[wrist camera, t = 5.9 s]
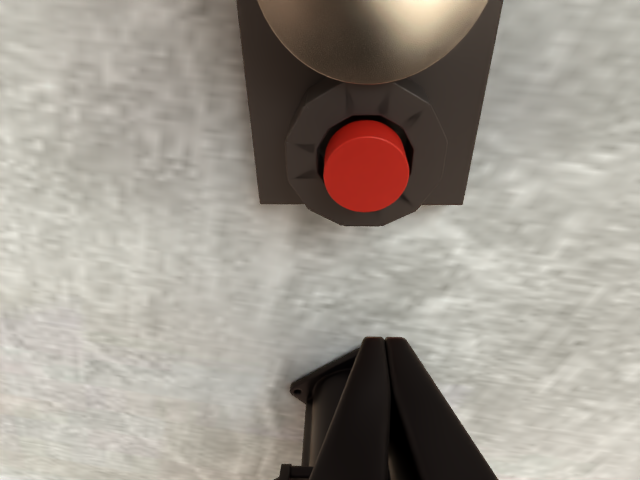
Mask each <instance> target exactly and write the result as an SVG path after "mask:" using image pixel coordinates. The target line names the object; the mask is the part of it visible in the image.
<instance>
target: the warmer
mask: <svg viewBox="0 0 640 480" xmlns="http://www.w3.org/2000/svg"><path fill="white" fill-rule="evenodd" d="M236 1H237V10H238V18H239V27H240V36H241V44H242V53H243V62H244V70H245V79H246V87H247V96H248V105H249V113H250V122H251V130H252V139H253V148H254V156H255V165H256V173H257V182H258V191H259V199H260V204H305V205H306V207H307V208H308V209H310V210H311V211H313V212H315V213H317V214H319V215H321V216H323V217H325V218H327V219H329V220H331V221H333V222H335V223H337V224H339V225H344V226H380V225H381V226H384V225H386V224H388V223H390V222H392V221H395V220H397V219H399V218H401V217H404V216H406V215H408V214H410V213H412V212H415V211H416V210H417V209H418V208H419V207H420V206H421V205H462V204H463V200H464V195H465V190H466V185H467V180H468V175H469V170H470V165H471V160H472V155H473V150H474V145H475V140H476V135H477V130H478V125H479V120H480V115H481V110H482V105H483V100H484V95H485V90H486V85H487V80H488V74H489V69H490V64H491V59H492V54H493V49H494V44H495V39H496V34H497V29H498V24H499V19H500V14H501V9H502V4H503V0H489V1H488V3H487V4H486V6H485V8H484V10H483V11H482V13H481V15H480V17H479V18H478V20H477V21H476V22H475V24H474V25H473V27H472V28H471V29H470V31H469V32H468V33H467V34H466V36H465V37H464V38H463V39H462V40H461V41H460V42H459V43H458V44H457V46H455V47H454V48H453V49H452V50H451V51H450V52H449V53H448V54H446V55H445V56H444V57H443V58H441V59H440V60H439V61H437V62H436V63H434V64H433V65H431V66H430V67H428V68H426V69H424V70H423V71H421V72H419V73H417V74H415V75H412V76H409V77H407V78H404V79H401V80H397V81H393V82H389V83H383V84H374V85H365V84H353V83H346V82H342V81H339V80H335V79H332V78H329V77H327V76H325V75H322V74H320V73H318V72H316V71H315V70H313V69H311V68H310V67H308V66H306V65H305V64H304V63H302V62H301V61H300V60H299V59H297V58H296V57H295V56H294V55H293V54H292V53H291V52H290V51H289V50H288V49H287V48H286V47H285V46H284V45H283V44H282V43H281V42H280V40H279V39H278V38H277V36H276V35H275V34H274V32H273V31H272V29H271V28H270V26H269V24H268V22H267V21H266V19H265V17H264V15H263V13H262V11H261V8H260V6H259V4H258V2H257V0H236ZM359 120H373V121H378V122H381V123H383V124H385V125H387V126H389V127H390V128H392V129H393V130H394V131H395V132H396V133H397V134H398V136H399V137H400V139H401V141H402V143H403V147H404V150H405V154H406V158H407V162H408V165H409V179H408V183H407V186H406V188H405V190H404V191H403V193H402V194H401V196H400V197H399V198H398V199H397V200H396V201H395V202H394V203H392V204H391V205H389V206H387V207H386V208H383V209H381V210H377V211H373V212H356V211H352V210H349V209H346V208H344V207H342V206H341V205H339V204H338V203H337V202H335V201H334V200H333V199H332V197H331V196H330V195H329V193H328V191H327V189H326V187H325V184H324V177H323V174H324V159H325V151H326V147H327V144H328V142H329V140H330V139H331V137H332V136H333V135H334V134H335V132H336V131H338V130H339V129H340V128H341V127H343V126H345V125H347V124H349V123H351V122H354V121H359Z"/></svg>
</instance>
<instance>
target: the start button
mask: <svg viewBox="0 0 640 480" xmlns="http://www.w3.org/2000/svg"><path fill="white" fill-rule="evenodd" d="M323 177H324V184H325V187H326V189H327V191H328V193H329V195H330V196H331V197H332V199H333V200H334V201H335V202H337V203H338V204H339V205H341V206H342V207H344V208H346V209H349V210H352V211H356V212H373V211H377V210H381V209H383V208H386V207H387V206H389V205H391V204H392V203H394V202H395V201H396V200H397V199H398V198H399V197H400V196H401V194H402V193H403V191H404V190H405V188H406V186H407V183H408V179H409V165H408V162H407V158H406V154H405V150H404V147H403V143H402V141H401V139H400V137H399V136H398V134H397V133H396V132H395V131H394V130H393V129H392V128H390V127H389V126H387V125H385V124H383V123H381V122H378V121H373V120H359V121H354V122H351V123H349V124H347V125H345V126H343V127H341V128H340V129H339V130H338V131H336V132H335V134H334V135H333V136H332V137H331V139H330V140H329V142H328V144H327V147H326V151H325V159H324V174H323Z"/></svg>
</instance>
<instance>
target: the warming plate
mask: <svg viewBox="0 0 640 480" xmlns="http://www.w3.org/2000/svg"><path fill="white" fill-rule="evenodd" d="M488 1H489V0H257V2H258V4H259V6H260V8H261V11H262V13H263V15H264V17H265V19H266V21H267V22H268V24H269V26H270V28H271V29H272V31H273V32H274V34H275V35H276V36H277V38H278V39H279V40H280V42H281V43H282V44H283V45H284V46H285V47H286V48H287V49H288V50H289V51H290V52H291V53H292V54H293V55H294V56H295V57H296V58H297V59H299V60H300V61H301V62H302V63H304V64H305V65H306V66H308V67H310V68H311V69H313V70H315V71H316V72H318V73H320V74H322V75H325V76H327V77H329V78H332V79H335V80H339V81H342V82H346V83H353V84H365V85H374V84H383V83H389V82H393V81H397V80H401V79H404V78H407V77H409V76H412V75H415V74H417V73H419V72H421V71H423V70H424V69H426V68H428V67H430V66H431V65H433V64H434V63H436V62H437V61H439V60H440V59H441V58H443V57H444V56H445V55H446V54H448V53H449V52H450V51H451V50H452V49H453V48H454V47H455V46H457V44H458V43H459V42H460V41H461V40H462V39H463V38H464V37H465V36H466V34H467V33H468V32H469V31H470V29H471V28H472V27H473V25H474V24H475V22H476V21H477V20H478V18H479V17H480V15H481V13H482V11H483V10H484V8H485V6H486V4H487V3H488Z"/></svg>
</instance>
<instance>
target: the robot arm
mask: <svg viewBox="0 0 640 480" xmlns="http://www.w3.org/2000/svg"><path fill="white" fill-rule="evenodd" d="M290 393H291V394H292V395H293V396H295V397H296V398H298V399H299V400H301V401H302V402H304V403H305V404H306V412H305V425H304V439H303V453H302V466H292V465H291V464H281V470H280V475H279V477H278V478H276V479H274V480H498V479H497V477H496V475H495V474H494V472H493V471H492V469H491V468H490V466H489V465H488V463H487V462H486V460H485V459H484V457H483V456H482V454H481V453H480V451H479V450H478V448H477V447H476V445H475V444H474V442H473V441H472V439H471V437H470V436H469V434H468V433H467V431H466V430H465V428H464V427H463V425H462V424H461V422H460V421H459V419H458V418H457V416H456V415H455V413H454V412H453V410H452V409H451V407H450V406H449V404H448V403H447V401H446V399H445V398H444V396H443V395H442V393H441V392H440V390H439V389H438V387H437V386H436V384H435V383H434V381H433V380H432V378H431V377H430V375H429V374H428V372H427V371H426V369H425V368H424V366H423V365H422V363H421V361H420V360H419V358H418V357H417V355H416V354H415V352H414V351H413V349H412V348H411V346H410V345H409V343H408V342H407V340H406V339H405V338H402V337H387V338H385V340H384V339H383V338H382V337H365V338H364V339H363V342H362V344H361V347H360V348H359V349H357V350H355V351H353V352H351V353H349V354H347V355H345V356H343V357H341V358H340V359H338V360H336V361H334V362H332V363H330V364H328V365H326V366H324V367H322V368H320V369H319V370H317V371H315V372H313V373H311V374H309V375H307V376H305V377H303V378H301V379H299V380H297V381H296V382H294V383H292V384H291V387H290Z"/></svg>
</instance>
